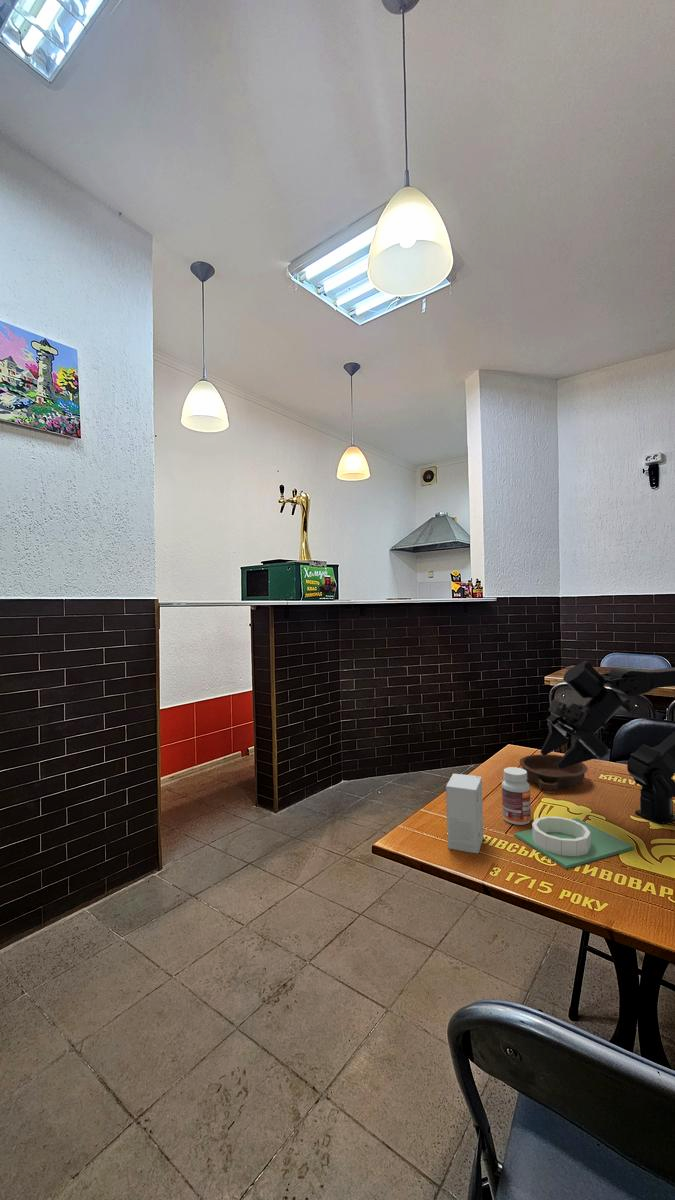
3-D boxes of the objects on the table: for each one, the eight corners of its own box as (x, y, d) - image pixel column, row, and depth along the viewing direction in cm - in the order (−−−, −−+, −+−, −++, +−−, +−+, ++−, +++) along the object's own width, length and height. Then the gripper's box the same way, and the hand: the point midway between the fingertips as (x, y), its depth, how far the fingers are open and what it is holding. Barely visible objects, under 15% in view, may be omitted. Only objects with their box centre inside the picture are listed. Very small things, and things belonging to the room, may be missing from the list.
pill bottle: (528, 828, 108) (527, 777, 108) (500, 822, 111) (498, 773, 111) (532, 816, 113) (531, 768, 113) (505, 811, 116) (504, 764, 116)
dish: (511, 788, 131) (510, 770, 131) (528, 764, 149) (528, 748, 149) (582, 801, 121) (582, 781, 121) (592, 774, 140) (591, 757, 140)
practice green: (577, 820, 111) (576, 804, 111) (633, 849, 98) (633, 831, 98) (514, 836, 104) (513, 819, 104) (566, 868, 91) (565, 849, 91)
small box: (454, 831, 107) (452, 772, 107) (484, 836, 104) (482, 776, 104) (446, 848, 100) (445, 785, 100) (478, 854, 97) (476, 789, 97)
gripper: (553, 681, 121) (510, 726, 121) (591, 695, 102) (541, 748, 103) (586, 711, 121) (543, 756, 121) (630, 731, 102) (579, 785, 102)
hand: (550, 760), depth 112 cm, fingers open, 9 cm apart
